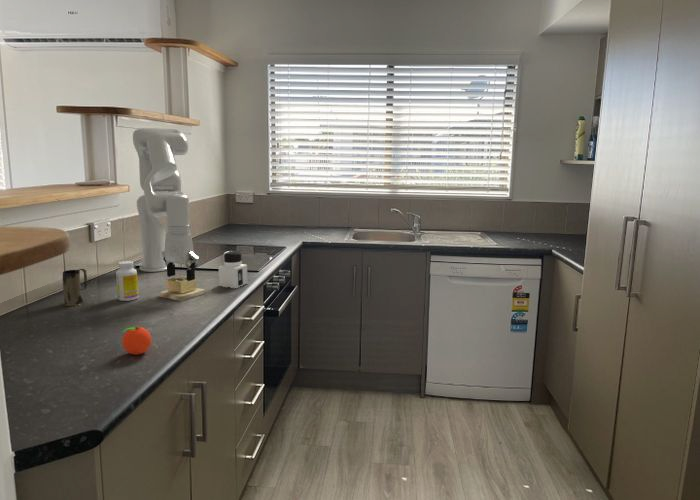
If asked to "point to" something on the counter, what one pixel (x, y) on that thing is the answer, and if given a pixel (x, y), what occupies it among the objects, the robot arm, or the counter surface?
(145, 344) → the clementine
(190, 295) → the post stand
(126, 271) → the supplement bottle
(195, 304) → the counter surface
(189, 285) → the collar
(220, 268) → the container
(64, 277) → the mug
